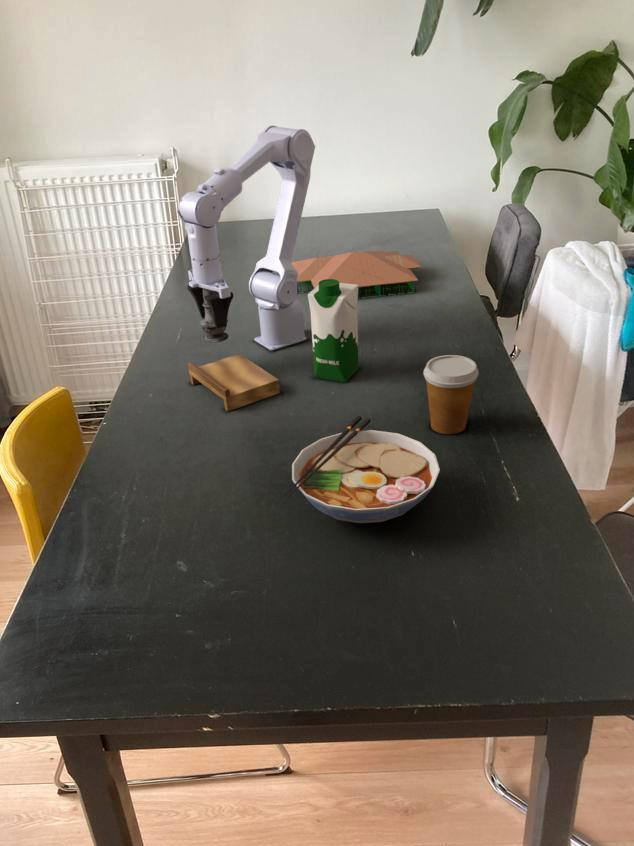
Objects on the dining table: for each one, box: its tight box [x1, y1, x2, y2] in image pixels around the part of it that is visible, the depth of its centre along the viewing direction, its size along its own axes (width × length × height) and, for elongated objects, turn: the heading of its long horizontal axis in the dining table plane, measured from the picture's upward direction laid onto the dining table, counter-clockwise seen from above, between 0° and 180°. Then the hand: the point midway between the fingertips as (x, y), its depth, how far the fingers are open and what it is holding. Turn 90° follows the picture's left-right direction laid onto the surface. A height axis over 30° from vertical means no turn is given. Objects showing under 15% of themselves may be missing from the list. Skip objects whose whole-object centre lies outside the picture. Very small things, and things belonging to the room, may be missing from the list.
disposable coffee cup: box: [423, 354, 480, 435], centre depth 143 cm, size 10×10×12 cm
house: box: [291, 250, 422, 299], centre depth 207 cm, size 23×33×8 cm
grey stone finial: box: [199, 288, 229, 344], centre depth 165 cm, size 6×6×12 cm
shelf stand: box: [187, 353, 281, 412], centre depth 163 cm, size 12×16×4 cm
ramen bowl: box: [284, 415, 441, 524], centre depth 126 cm, size 25×23×8 cm
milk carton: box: [307, 279, 360, 383], centre depth 162 cm, size 9×9×20 cm
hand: (213, 322), depth 167 cm, fingers closed on grey stone finial, 6 cm apart
